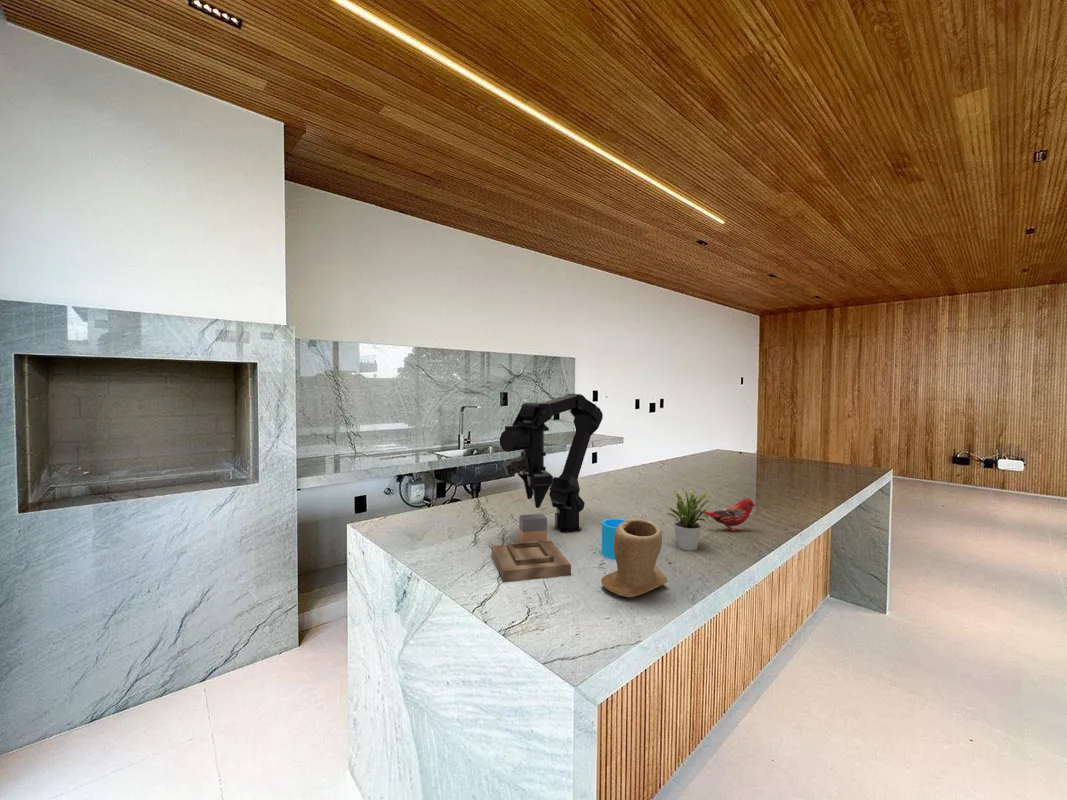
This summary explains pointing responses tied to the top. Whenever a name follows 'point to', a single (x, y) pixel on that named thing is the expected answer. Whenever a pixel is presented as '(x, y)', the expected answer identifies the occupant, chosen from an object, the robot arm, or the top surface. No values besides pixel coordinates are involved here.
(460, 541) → the top surface
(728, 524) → the decorative bird figurine
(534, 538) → the block
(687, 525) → the house plant
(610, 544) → the mug
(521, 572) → the walnut cradle stand
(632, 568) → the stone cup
